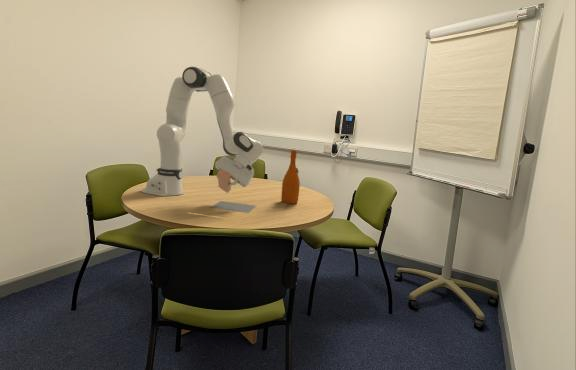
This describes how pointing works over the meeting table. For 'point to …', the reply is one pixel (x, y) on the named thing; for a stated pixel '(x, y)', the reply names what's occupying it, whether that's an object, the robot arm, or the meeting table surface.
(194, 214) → the meeting table surface
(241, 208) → the mat
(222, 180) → the tile
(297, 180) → the wine bottle
